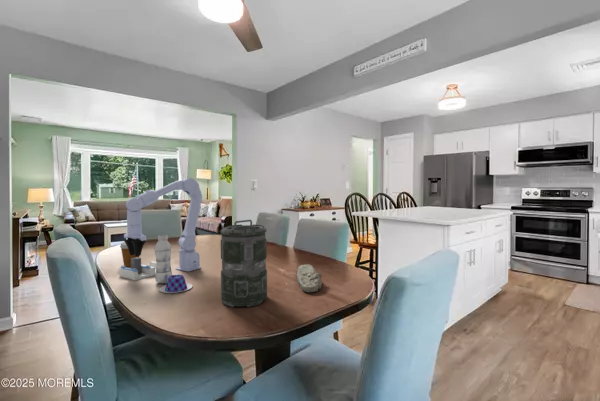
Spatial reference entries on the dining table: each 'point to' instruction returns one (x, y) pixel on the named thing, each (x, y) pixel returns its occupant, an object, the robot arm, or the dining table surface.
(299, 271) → the long grey stone
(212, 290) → the dining table surface
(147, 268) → the white blue cradle
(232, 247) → the canister
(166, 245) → the plastic bottle
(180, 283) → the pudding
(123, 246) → the disposable coffee cup
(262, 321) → the dining table surface
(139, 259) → the cord plug
